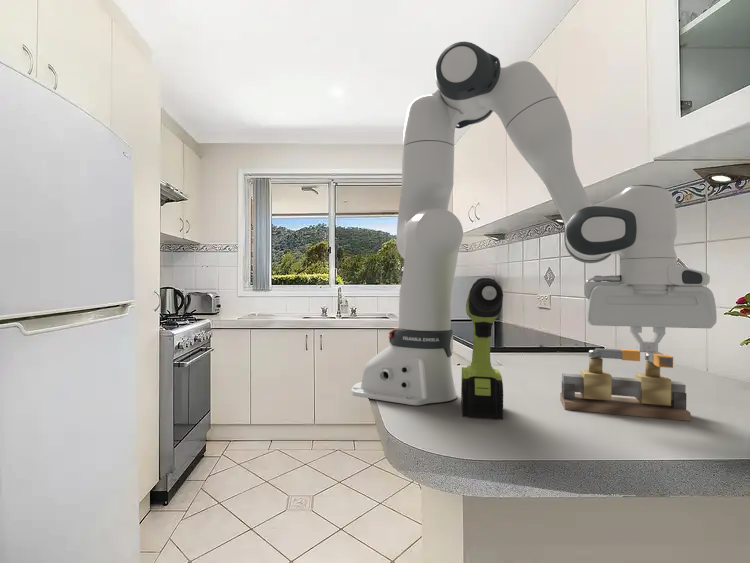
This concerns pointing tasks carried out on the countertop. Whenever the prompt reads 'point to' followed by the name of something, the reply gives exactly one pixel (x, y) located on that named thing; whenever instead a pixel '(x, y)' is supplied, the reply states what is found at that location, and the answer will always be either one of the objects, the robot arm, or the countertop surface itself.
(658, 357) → the right valve lever
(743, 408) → the countertop surface
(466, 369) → the cordless drill
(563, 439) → the countertop surface
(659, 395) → the valve manifold
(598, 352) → the left valve lever
